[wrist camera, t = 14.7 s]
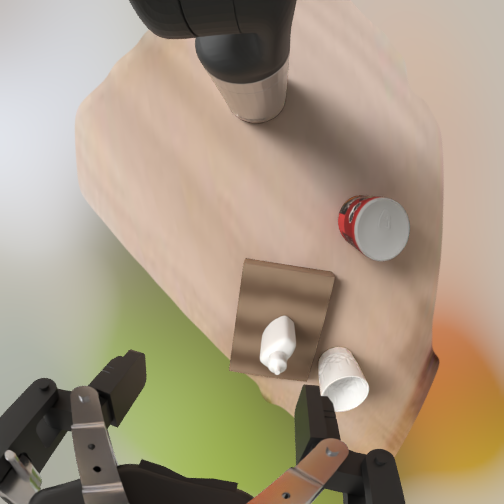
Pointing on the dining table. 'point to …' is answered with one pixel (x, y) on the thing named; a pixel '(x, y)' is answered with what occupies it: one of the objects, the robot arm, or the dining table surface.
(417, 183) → the dining table surface
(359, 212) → the canned food
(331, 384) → the white cup
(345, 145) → the dining table surface
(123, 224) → the dining table surface
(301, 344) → the walnut base board
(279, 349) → the eye dropper bottle
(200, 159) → the dining table surface
